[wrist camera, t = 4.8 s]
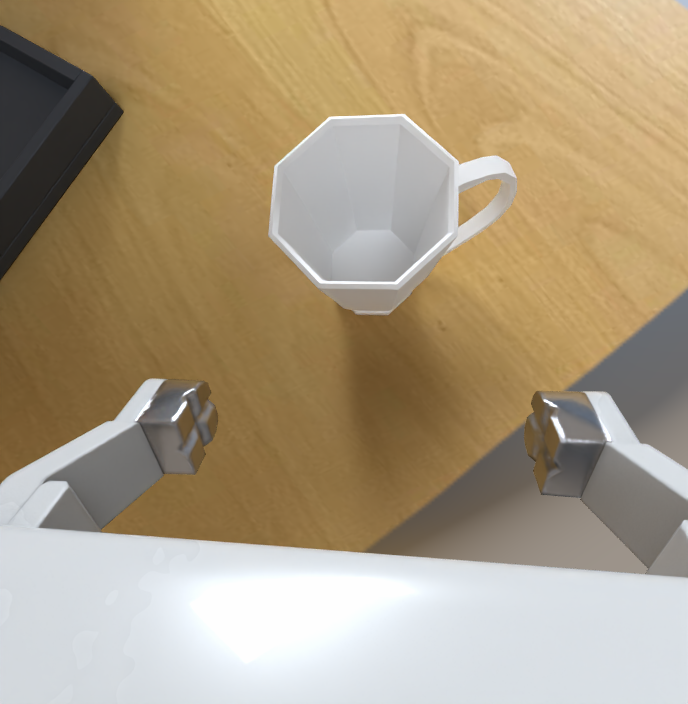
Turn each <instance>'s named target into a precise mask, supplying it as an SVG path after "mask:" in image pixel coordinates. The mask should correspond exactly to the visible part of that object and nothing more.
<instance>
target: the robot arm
mask: <svg viewBox="0 0 688 704" xmlns="http://www.w3.org/2000/svg"><path fill="white" fill-rule="evenodd" d="M210 395H211V390H210V388H209V385H208V383H207V382H205V381H196V380H177V379H152V378H151V379H148V380H146V381H145V382H144V383H143V384H142V385H141V387H140V388H139V389H138V390H137V392H136V393H135V394H134V396H133V397H132V398H131V399H130V401H129V402H128V403H127V404H126V406H125V407H124V408H123V410H122V411H121V412H120V413H119V415H118V416H117V417H116V418H115V420H114V421H107V422H105V423H103V424H101V425H100V426H98V427H96V428H94V429H92V430H91V431H89V432H87V433H85V434H83V435H82V436H80V437H78V438H76V439H74V440H73V441H71V442H69V443H67V444H65V445H63V446H62V447H60V448H58V449H56V450H54V451H53V452H51V453H49V454H47V455H45V456H44V457H42V458H40V459H38V460H36V461H35V462H33V463H31V464H29V465H27V466H26V467H24V468H22V469H20V470H18V471H16V472H15V473H13V474H11V475H9V476H8V477H7V478H6V479H5V480H4V481H3V482H2V483H1V484H0V704H688V469H686V468H684V467H683V466H681V465H680V464H678V463H676V462H675V461H673V460H672V459H670V458H669V457H667V456H666V455H664V454H662V453H661V452H659V451H658V450H656V449H655V448H653V447H651V446H650V445H648V444H640V442H639V441H638V439H637V437H636V436H635V434H634V433H633V431H632V429H631V428H630V426H629V425H628V423H627V422H626V420H625V418H624V417H623V415H622V414H621V412H620V410H619V409H618V407H617V406H616V404H615V403H614V401H613V399H612V398H611V396H610V395H609V394H608V393H606V392H583V391H582V392H563V391H536V392H535V394H534V395H533V398H532V402H531V405H532V408H533V411H534V412H533V413H532V414H531V415H529V416H528V417H527V420H526V424H525V432H524V440H525V446H526V449H527V453H528V456H529V457H531V458H532V459H533V460H534V461H535V462H536V463H535V467H534V470H533V472H534V475H535V478H536V481H537V483H538V487H539V490H540V493H541V495H552V496H565V497H576V498H581V499H580V500H581V501H582V502H583V503H584V504H585V505H586V506H587V507H588V508H589V509H590V510H591V511H592V512H593V513H594V514H595V515H596V516H597V517H598V518H599V519H600V520H601V521H602V522H603V523H604V524H605V525H606V526H607V527H608V528H609V529H610V530H611V531H612V532H613V533H614V534H615V535H616V536H617V537H618V538H619V539H620V540H621V541H622V542H623V543H624V544H625V545H626V546H627V547H628V548H629V549H630V550H631V551H632V553H634V555H635V556H636V557H637V558H638V559H639V560H640V561H641V562H642V563H643V564H644V565H645V566H647V568H648V570H647V572H646V573H645V574H636V573H622V572H610V571H596V570H583V569H571V568H570V569H569V568H558V567H557V568H556V567H545V566H532V565H518V564H505V563H492V562H479V561H465V560H451V559H439V558H426V557H412V556H399V555H386V554H373V553H360V552H347V551H334V550H322V549H309V548H296V547H283V546H270V545H257V544H244V543H231V542H218V541H205V540H192V539H179V538H166V537H153V536H140V535H127V534H114V533H102V531H101V529H102V528H103V527H104V526H106V525H107V524H108V523H109V522H110V521H111V520H113V519H114V518H115V517H116V516H117V515H118V514H120V513H121V512H122V511H123V510H124V509H125V508H127V507H128V506H129V505H130V504H131V503H132V502H134V501H135V500H136V499H137V498H138V497H139V496H141V495H142V494H143V493H144V492H145V491H146V490H148V489H149V488H150V487H151V486H152V485H153V484H155V483H156V482H157V481H158V480H159V479H160V478H162V477H163V476H164V475H163V474H187V475H196V473H197V471H198V469H199V467H200V465H201V463H202V461H203V459H204V457H205V455H206V453H205V450H204V446H205V445H207V444H208V443H210V442H211V441H212V440H213V438H214V436H215V434H216V430H217V425H218V413H217V409H216V406H215V405H214V404H213V403H212V402H211V401H209V400H208V398H209V396H210Z"/></svg>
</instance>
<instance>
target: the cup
mask: <svg viewBox="0 0 688 704" xmlns="http://www.w3.org/2000/svg"><path fill="white" fill-rule="evenodd" d="M492 179H500V180H502V183H501V186H500V189H499V192H498V194H497V195H496V196H495V197H494V199H493V200H492V201H491V202H490V203H489V205H488V206H487V207H485V208H484V209H483V210H482V211H480V212H479V213H478V214H476V215H475V216H474V217H472V218H471V219H470V220H468V221H467V222H465V223H464V224H462V225H461V226H460V227H458V194H459V193H461V192H463V191H465V190H467V189H469V188H472V187H474V186H476V185H478V184H480V183H482V182H484V181H486V180H492ZM516 192H517V178H516V176H515V174H514V172H513V170H512V167H511V165H510V163H509V162H507V161H506V160H504V159H502V158H500V157H498V156H489V157H481V158H478V159H475V160H472V161H469V162H466V163H463V164H460V165H459V161H458V160H456V159H455V158H454V157H453V156H452V155H451V154H450V153H448V152H447V151H446V150H445V149H444V148H443V147H442V146H440V145H439V144H438V143H437V142H436V141H435V140H433V139H432V138H431V137H430V136H429V135H428V134H427V133H425V132H424V131H423V130H422V129H421V128H420V127H419V126H417V125H416V124H415V123H414V122H413V121H412V120H410V119H409V118H408V117H407V116H406V115H405V114H393V115H368V116H342V117H329V118H328V119H327V120H326V121H324V122H323V123H322V124H321V125H320V126H319V127H318V128H317V129H315V130H314V131H313V132H312V133H311V134H310V135H309V136H308V137H306V138H305V139H304V140H303V141H302V142H301V143H300V144H299V145H297V146H296V147H295V148H294V149H293V150H292V151H291V152H290V153H288V154H287V155H286V156H285V157H284V158H283V159H282V160H281V161H279V162H278V163H277V164H276V165H275V166H274V177H273V189H272V200H271V211H270V223H269V234H268V236H269V237H270V238H271V239H272V240H273V241H274V242H275V243H276V244H277V245H278V246H279V248H280V249H281V250H282V251H283V252H284V253H285V254H286V255H287V256H288V257H289V258H290V259H291V260H292V261H293V262H294V263H295V264H296V266H297V267H298V268H299V269H300V270H301V271H302V272H303V273H304V274H305V275H306V276H307V277H308V278H309V279H310V280H311V281H312V282H313V284H314V285H315V286H316V287H317V288H318V289H319V290H321V291H322V292H323V293H324V294H326V295H327V296H329V297H330V298H331V299H333V300H334V301H335V302H337V303H338V304H339V305H340V306H341V307H343V308H344V309H349V310H352V311H353V312H354V313H355V314H356V315H389V314H390V313H391V312H392V311H393V310H394V309H396V308H397V307H398V306H399V305H400V304H401V303H402V302H403V301H404V300H405V299H407V298H408V297H409V296H410V295H411V294H412V290H414V289H415V288H416V287H417V286H418V285H419V284H420V283H421V282H422V281H423V280H425V279H426V278H427V277H428V275H429V274H430V273H431V271H432V270H433V268H434V267H435V265H436V264H437V263H438V261H439V260H440V259H441V257H442V256H444V255H446V254H447V253H449V252H451V251H452V250H454V249H455V248H457V247H459V246H460V245H462V244H464V243H465V242H467V241H468V240H470V239H471V238H473V237H474V236H476V235H478V234H479V233H481V232H482V231H483V230H485V229H486V228H487V227H489V226H490V225H491V224H493V223H494V222H495V221H497V220H498V219H499V218H500V217H501V216H502V215H503V214H504V213H505V212H506V210H507V209H508V208H509V207H510V206H511V205H512V202H513V200H514V197H515V195H516Z"/></svg>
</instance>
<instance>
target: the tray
mask: <svg viewBox="0 0 688 704" xmlns="http://www.w3.org/2000/svg"><path fill="white" fill-rule="evenodd" d="M122 113H123V110H122V109H121V108H120V107H119V106H118V105H117V104H116V103H115V101H114V100H113V99H112V98H111V97H110V95H109V94H108V93H107V92H106V91H105V90H104V89H103V87H102V86H101V85H100V84H99V83H98V82H97V80H96V79H95V78H94V77H93V76H92V75H90V74H88V73H86V72H84V71H83V70H81V69H79V68H78V67H76V66H74V65H72V64H70V63H68V62H67V61H65V60H63V59H61V58H59V57H57V56H56V55H54V54H52V53H50V52H48V51H47V50H45V49H43V48H41V47H39V46H37V45H36V44H34V43H32V42H30V41H28V40H26V39H25V38H23V37H21V36H19V35H17V34H16V33H14V32H12V31H10V30H8V29H6V28H5V27H3V26H1V25H0V279H1V278H2V276H3V275H4V274H5V272H6V271H7V270H8V268H9V267H10V266H11V264H12V263H13V261H14V260H15V259H16V257H17V256H18V255H19V253H20V252H21V251H22V249H23V248H24V247H25V245H26V244H27V242H28V241H29V240H30V238H31V237H32V236H33V234H34V233H35V232H36V230H37V229H38V227H39V226H40V225H41V223H42V222H43V221H44V219H45V218H46V217H47V215H48V214H49V213H50V211H51V210H52V208H53V207H54V206H55V204H56V203H57V202H58V200H59V199H60V198H61V196H62V195H63V193H64V192H65V191H66V189H67V188H68V187H69V185H70V184H71V183H72V181H73V180H74V179H75V177H76V176H77V174H78V173H79V172H80V170H81V169H82V168H83V166H84V165H85V164H86V162H87V161H88V159H89V158H90V157H91V155H92V154H93V153H94V151H95V150H96V149H97V147H98V146H99V145H100V143H101V142H102V140H103V139H104V138H105V136H106V135H107V134H108V132H109V131H110V130H111V128H112V127H113V125H114V124H115V123H116V121H117V120H118V119H119V117H120V116H121V115H122Z"/></svg>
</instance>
